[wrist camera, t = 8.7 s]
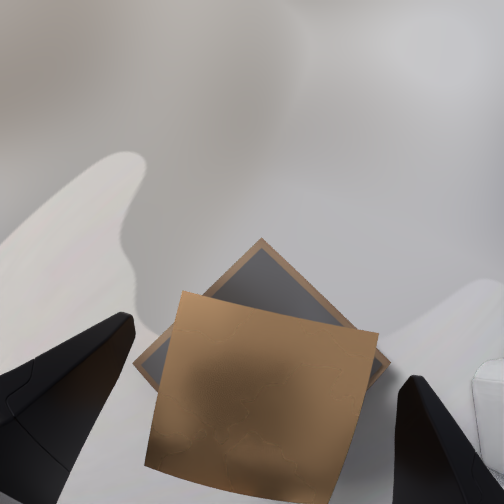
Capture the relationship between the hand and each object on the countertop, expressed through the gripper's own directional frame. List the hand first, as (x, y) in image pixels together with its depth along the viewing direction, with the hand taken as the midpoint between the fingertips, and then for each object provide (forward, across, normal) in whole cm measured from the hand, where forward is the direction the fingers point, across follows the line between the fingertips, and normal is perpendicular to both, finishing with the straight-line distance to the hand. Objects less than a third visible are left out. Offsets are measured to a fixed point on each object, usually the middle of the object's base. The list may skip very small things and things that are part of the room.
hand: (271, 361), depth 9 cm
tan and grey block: (+5, 0, +7) cm, 8 cm away
